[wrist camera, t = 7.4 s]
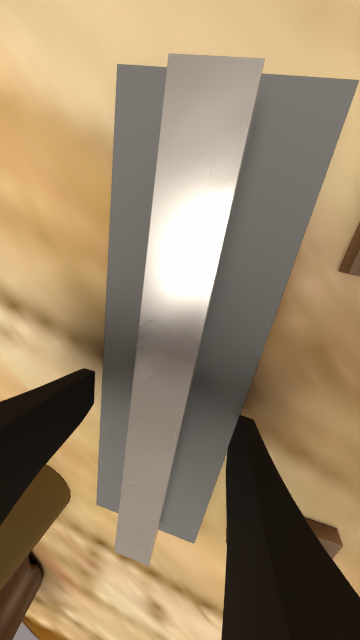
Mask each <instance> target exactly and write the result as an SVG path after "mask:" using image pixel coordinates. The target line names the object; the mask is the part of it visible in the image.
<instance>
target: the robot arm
mask: <svg viewBox="0 0 360 640" xmlns="http://www.w3.org/2000/svg"><path fill="white" fill-rule="evenodd" d="M94 386H95V371H92V370H88V369H85V368H84V369H81V370H78V371H76V372H73V373H71V374H69V375H66V376H64V377H62V378H59V379H57V380H55V381H52V382H50V383H48V384H45V385H43V386H41V387H38V388H36V389H33V390H30V391H28V392H25V393H23V394H20V395H17V396H15V397H12V398H9V399H7V400H4V401H1V402H0V526H1V524H2V523H3V521H4V520H5V519H6V517H7V516H8V514H9V513H10V511H11V510H12V509H13V507H14V506H15V504H16V503H17V501H18V500H19V499H20V497H21V496H22V494H23V493H24V492H25V490H26V489H27V488H28V486H29V485H30V484H31V482H32V481H33V479H34V478H35V477H36V475H37V474H38V473H39V472H40V470H41V469H42V468H43V467H44V465H45V464H46V463H47V462H48V461H49V460H50V458H51V457H52V456H53V455H54V454H55V453H56V451H57V450H58V449H59V448H60V447H61V446H62V444H63V443H64V442H65V441H66V440H67V439H68V437H69V436H70V435H71V434H72V433H73V432H74V430H75V429H76V428H77V427H78V426H79V424H80V423H81V422H82V421H83V419H84V418H85V416H86V415H87V413H88V412H89V410H90V409H91V407H92V406H93V404H94ZM226 508H227V559H226V578H225V595H224V610H223V626H222V640H360V597H359V596H358V594H357V593H356V592H355V590H354V589H353V588H352V586H351V585H350V583H349V582H348V581H347V579H346V578H345V576H344V575H343V574H342V572H341V571H340V569H339V568H338V567H337V565H336V564H335V563H334V561H333V560H332V558H331V557H330V556H329V554H328V553H327V551H326V550H325V548H324V547H323V545H322V544H321V542H320V541H319V539H318V538H317V536H316V535H315V533H314V532H313V530H312V529H311V527H310V526H309V524H308V523H307V521H306V519H305V518H304V516H303V515H302V513H301V511H300V510H299V508H298V506H297V505H296V503H295V501H294V500H293V498H292V496H291V494H290V493H289V491H288V489H287V487H286V485H285V484H284V482H283V480H282V478H281V476H280V474H279V472H278V471H277V469H276V467H275V465H274V463H273V461H272V459H271V457H270V455H269V453H268V451H267V448H266V446H265V444H264V442H263V440H262V438H261V435H260V433H259V431H258V429H257V426H256V424H255V422H254V420H253V419H250V418H247V417H244V416H240V415H239V417H238V420H237V423H236V426H235V429H234V431H233V434H232V437H231V440H230V443H229V446H228V452H227V463H226Z"/></svg>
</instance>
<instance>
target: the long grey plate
mask: <svg viewBox="0 0 360 640" xmlns="http://www.w3.org/2000/svg"><path fill="white" fill-rule="evenodd" d="M166 74H167V67H155V66H140V65H124V64H117V82H116V103H115V124H114V145H113V166H112V187H111V208H110V229H109V250H108V271H107V292H106V313H105V334H104V355H103V376H102V397H101V419H100V440H99V461H98V482H97V503H96V505H99V506H101V507H104V508H106V509H109V510H111V511H114V512H116V513H119V505H120V496H121V487H122V478H123V469H124V460H125V450H126V441H127V432H128V423H129V414H130V405H131V395H132V386H133V377H134V368H135V359H136V349H137V340H138V331H139V322H140V313H141V304H142V294H143V285H144V276H145V267H146V258H147V249H148V239H149V230H150V221H151V212H152V203H153V193H154V184H155V175H156V166H157V157H158V148H159V138H160V129H161V120H162V111H163V102H164V93H165V83H166ZM358 82H359V80H350V79H335V78H320V77H305V76H290V75H275V74H262V77H261V83H260V89H259V94H258V100H257V106H256V111H255V116H254V121H253V125H252V129H251V134H250V138H249V142H248V146H247V151H246V155H245V159H244V164H243V168H242V172H241V177H240V181H239V185H238V189H237V194H236V198H235V202H234V207H233V211H232V215H231V220H230V224H229V228H228V233H227V237H226V241H225V245H224V250H223V254H222V258H221V263H220V267H219V271H218V276H217V280H216V284H215V288H214V293H213V297H212V301H211V306H210V310H209V314H208V319H207V323H206V327H205V332H204V336H203V340H202V344H201V349H200V353H199V357H198V362H197V366H196V370H195V375H194V379H193V383H192V387H191V392H190V396H189V400H188V405H187V409H186V413H185V418H184V422H183V426H182V431H181V435H180V439H179V443H178V448H177V452H176V456H175V461H174V465H173V469H172V474H171V478H170V482H169V486H168V491H167V495H166V499H165V504H164V508H163V512H162V517H161V521H160V525H159V530H161V531H164V532H166V533H169V534H171V535H174V536H176V537H179V538H181V539H184V540H186V541H189V542H191V543H195V540H196V537H197V534H198V531H199V529H200V526H201V523H202V520H203V517H204V515H205V512H206V509H207V506H208V503H209V501H210V498H211V495H212V492H213V489H214V487H215V484H216V481H217V478H218V475H219V473H220V470H221V467H222V464H223V461H224V459H225V456H226V453H227V450H228V446H229V443H230V440H231V437H232V434H233V431H234V429H235V426H236V423H237V420H238V417H239V415H240V414H241V411H242V408H243V405H244V402H245V400H246V397H247V394H248V391H249V388H250V386H251V383H252V380H253V377H254V374H255V371H256V369H257V366H258V363H259V360H260V357H261V355H262V352H263V349H264V346H265V343H266V341H267V338H268V335H269V332H270V329H271V327H272V324H273V321H274V318H275V315H276V313H277V310H278V307H279V304H280V301H281V299H282V296H283V293H284V290H285V287H286V284H287V282H288V279H289V276H290V273H291V270H292V268H293V265H294V262H295V259H296V256H297V254H298V251H299V248H300V245H301V242H302V240H303V237H304V234H305V231H306V228H307V226H308V223H309V220H310V217H311V214H312V211H313V209H314V206H315V203H316V200H317V197H318V195H319V192H320V189H321V186H322V183H323V181H324V178H325V175H326V172H327V169H328V167H329V164H330V161H331V158H332V155H333V153H334V150H335V147H336V144H337V141H338V139H339V136H340V133H341V130H342V127H343V124H344V122H345V119H346V116H347V113H348V110H349V108H350V105H351V102H352V99H353V96H354V94H355V91H356V88H357V85H358Z"/></svg>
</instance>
